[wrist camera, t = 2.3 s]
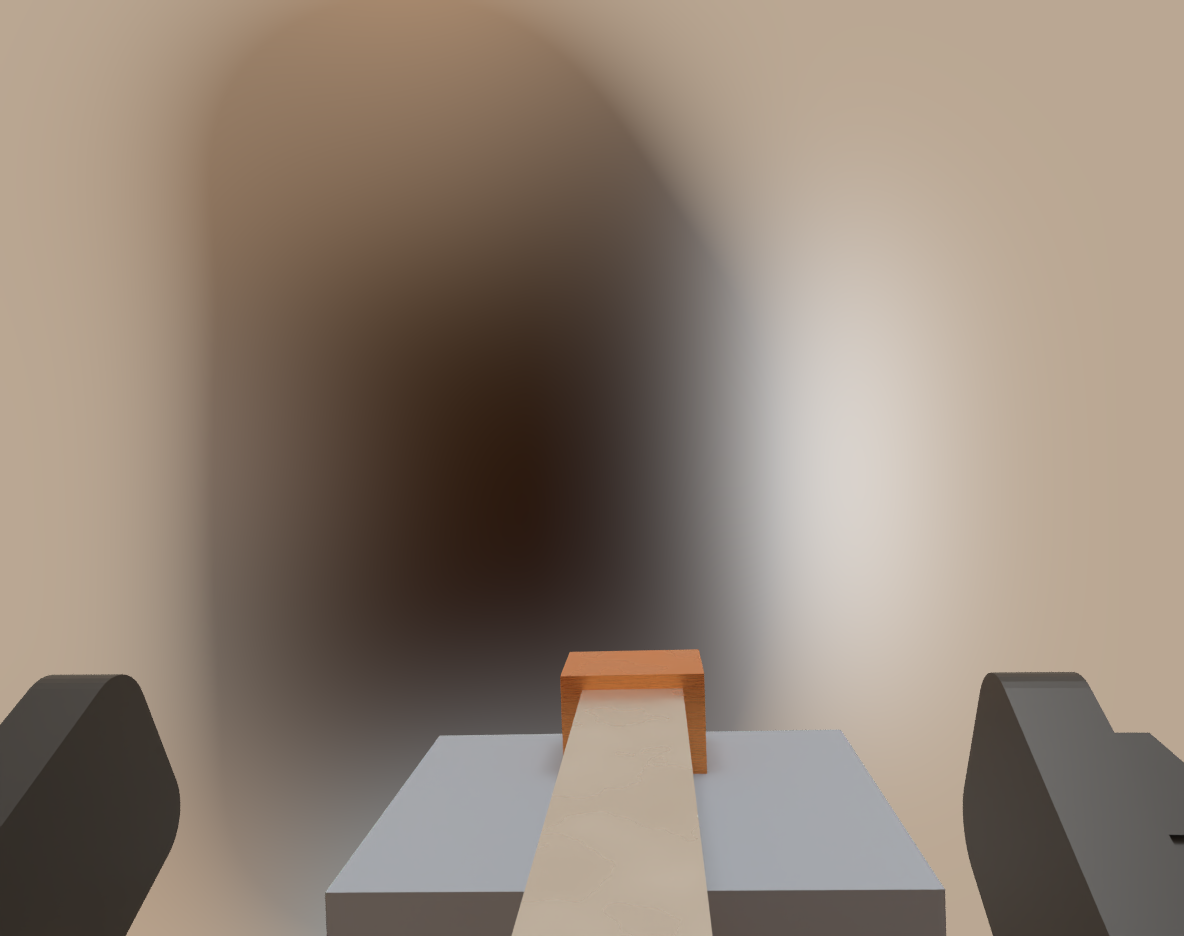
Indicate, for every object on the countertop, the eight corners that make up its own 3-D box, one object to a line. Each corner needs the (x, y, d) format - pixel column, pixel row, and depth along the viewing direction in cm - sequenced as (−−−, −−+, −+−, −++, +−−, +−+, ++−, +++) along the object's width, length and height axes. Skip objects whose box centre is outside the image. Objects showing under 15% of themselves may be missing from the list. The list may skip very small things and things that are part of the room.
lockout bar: (575, 733, 40) (572, 646, 40) (700, 731, 39) (697, 644, 39) (456, 1175, 16) (447, 957, 16) (773, 1180, 15) (766, 958, 15)
